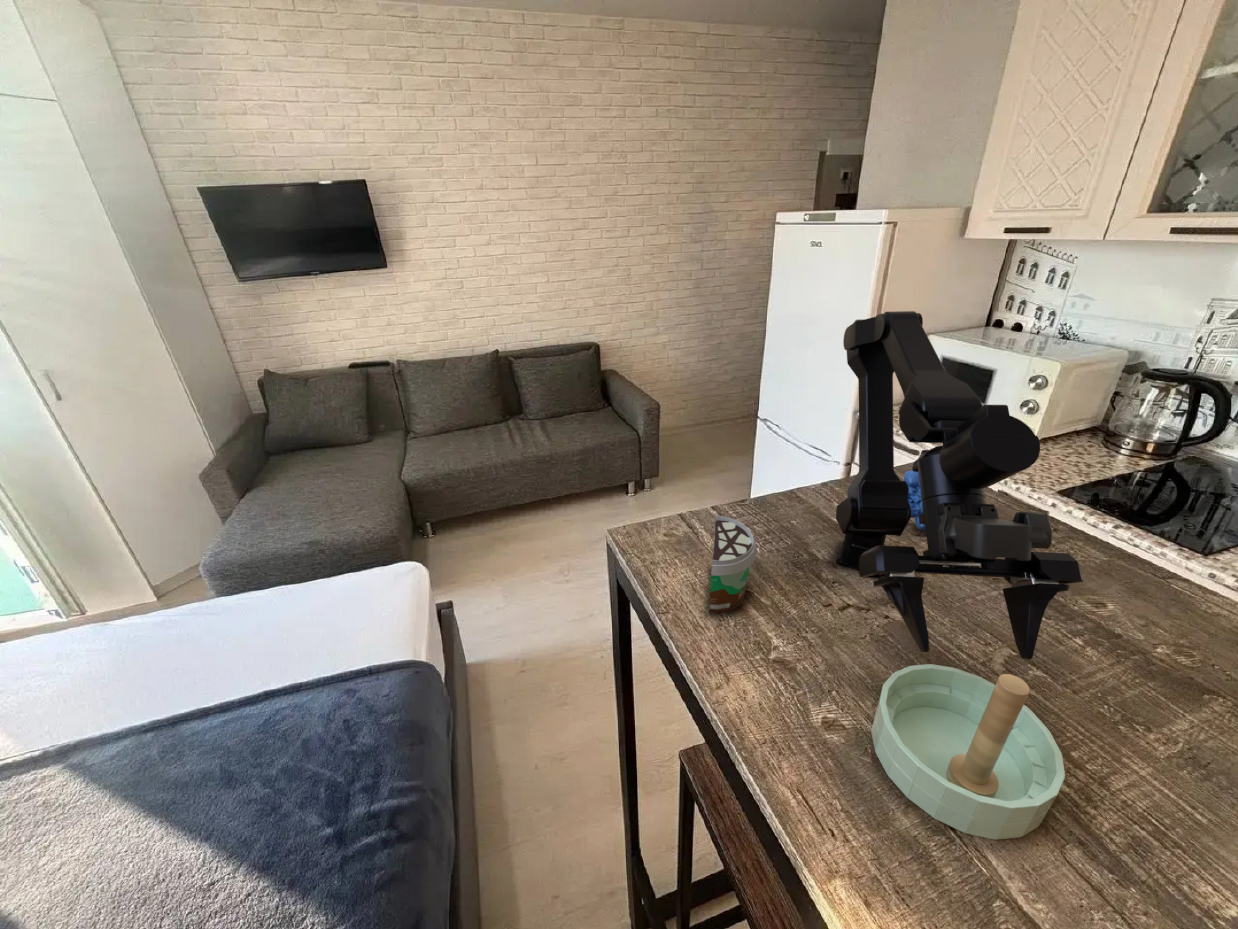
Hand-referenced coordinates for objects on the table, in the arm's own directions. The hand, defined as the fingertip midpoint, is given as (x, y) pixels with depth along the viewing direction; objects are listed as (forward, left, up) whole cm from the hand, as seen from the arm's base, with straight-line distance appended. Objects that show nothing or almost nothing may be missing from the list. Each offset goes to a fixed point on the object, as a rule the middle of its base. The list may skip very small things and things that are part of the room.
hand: (975, 655), depth 50 cm
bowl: (+3, +1, -12) cm, 12 cm away
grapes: (-41, -5, -12) cm, 43 cm away
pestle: (+5, +2, -11) cm, 13 cm away
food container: (-10, -28, -12) cm, 32 cm away
